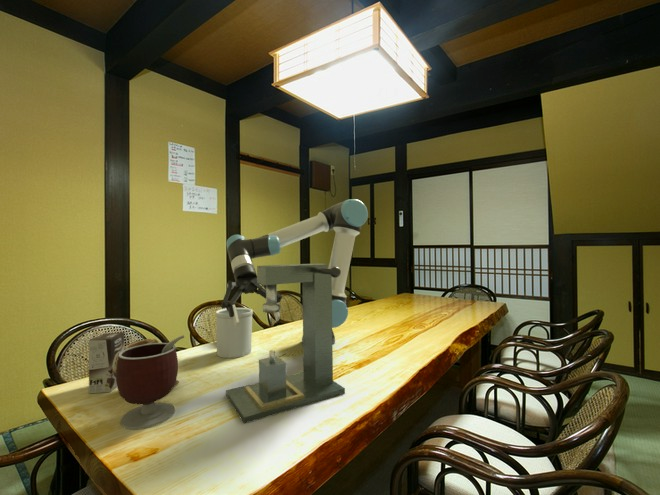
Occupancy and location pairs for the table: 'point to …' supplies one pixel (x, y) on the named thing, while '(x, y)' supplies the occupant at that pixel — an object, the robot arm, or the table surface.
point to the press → (316, 343)
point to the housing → (272, 376)
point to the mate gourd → (147, 382)
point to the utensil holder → (233, 333)
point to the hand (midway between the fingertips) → (258, 321)
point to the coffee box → (104, 361)
